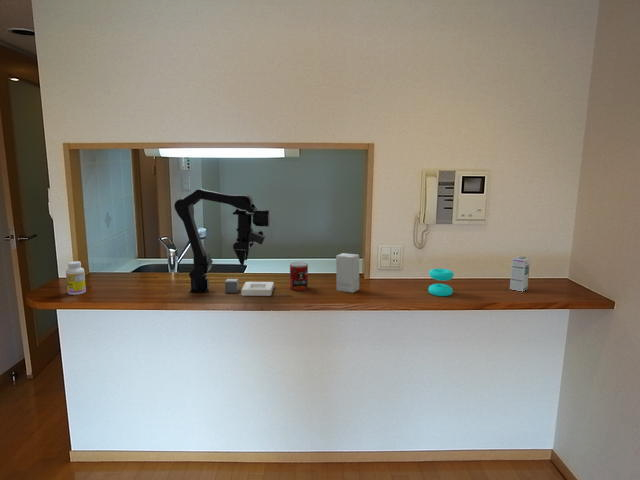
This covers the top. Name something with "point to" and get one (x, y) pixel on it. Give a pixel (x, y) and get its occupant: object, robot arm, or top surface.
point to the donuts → (441, 288)
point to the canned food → (298, 276)
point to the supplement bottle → (75, 278)
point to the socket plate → (257, 289)
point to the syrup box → (519, 273)
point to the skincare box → (347, 272)
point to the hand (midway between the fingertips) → (244, 262)
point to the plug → (231, 285)
